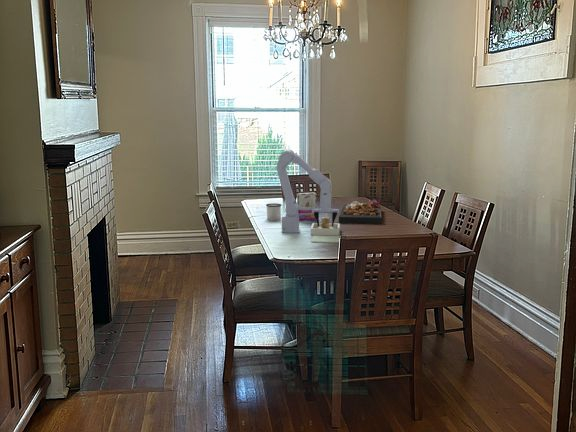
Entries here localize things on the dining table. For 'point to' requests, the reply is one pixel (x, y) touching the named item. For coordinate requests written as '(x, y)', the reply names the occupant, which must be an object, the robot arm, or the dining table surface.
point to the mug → (273, 211)
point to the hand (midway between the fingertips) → (325, 226)
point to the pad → (325, 239)
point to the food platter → (361, 213)
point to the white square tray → (325, 229)
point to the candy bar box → (306, 206)
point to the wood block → (325, 222)
